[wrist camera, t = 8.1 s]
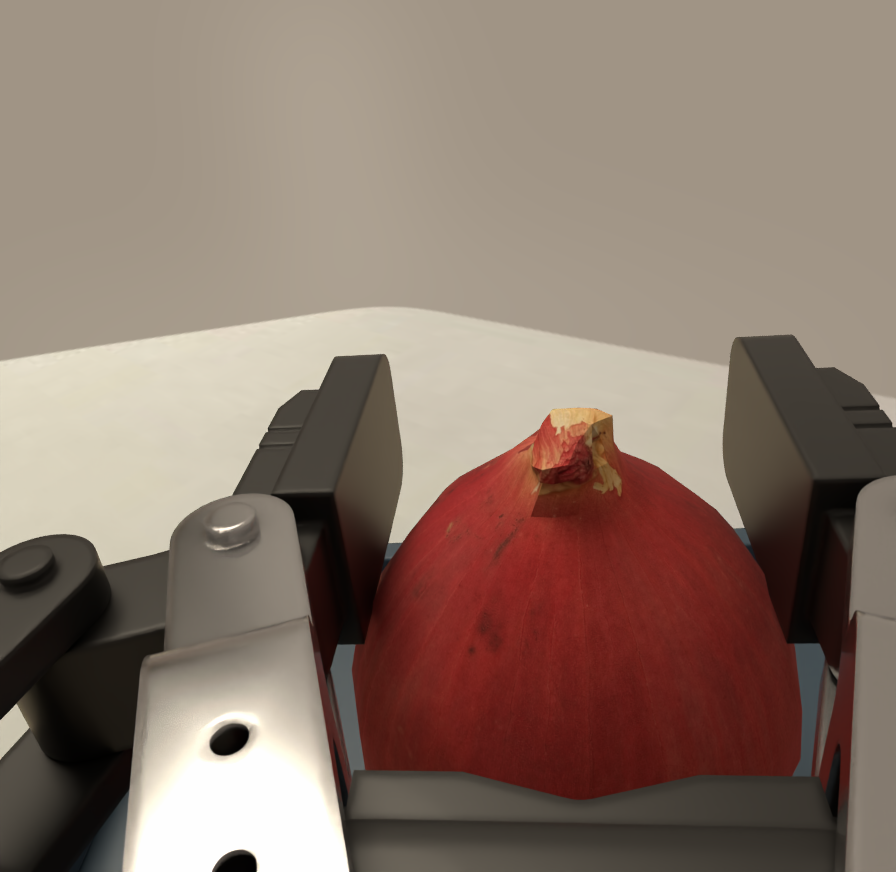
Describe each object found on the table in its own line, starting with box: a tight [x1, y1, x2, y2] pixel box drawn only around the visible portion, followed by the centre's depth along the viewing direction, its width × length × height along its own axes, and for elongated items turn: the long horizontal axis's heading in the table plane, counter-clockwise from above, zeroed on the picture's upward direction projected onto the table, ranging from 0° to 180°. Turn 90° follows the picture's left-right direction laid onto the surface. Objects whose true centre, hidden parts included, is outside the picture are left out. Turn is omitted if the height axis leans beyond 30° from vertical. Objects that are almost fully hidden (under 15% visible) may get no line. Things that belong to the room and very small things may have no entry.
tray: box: [69, 528, 825, 872], centre depth 13 cm, size 17×13×1 cm
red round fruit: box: [352, 408, 802, 800], centre depth 11 cm, size 6×6×8 cm
